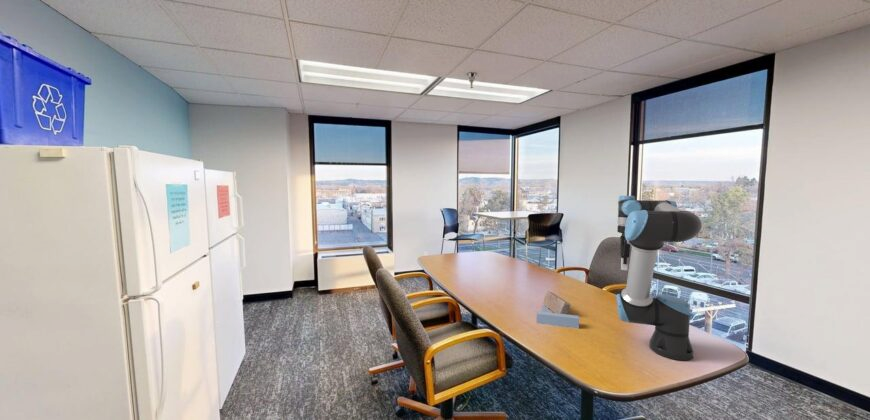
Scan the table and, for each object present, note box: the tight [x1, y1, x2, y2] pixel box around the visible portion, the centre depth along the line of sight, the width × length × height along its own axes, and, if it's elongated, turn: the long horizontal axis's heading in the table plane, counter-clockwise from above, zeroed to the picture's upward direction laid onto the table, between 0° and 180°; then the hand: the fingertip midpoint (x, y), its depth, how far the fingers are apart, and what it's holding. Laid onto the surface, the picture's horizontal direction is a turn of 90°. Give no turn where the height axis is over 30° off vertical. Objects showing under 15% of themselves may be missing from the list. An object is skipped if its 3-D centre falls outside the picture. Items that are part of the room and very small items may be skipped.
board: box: [536, 305, 580, 329], centre depth 169 cm, size 12×20×5 cm, turn 71°
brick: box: [542, 290, 571, 315], centre depth 181 cm, size 16×8×5 cm
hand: (624, 269), depth 171 cm, fingers closed
